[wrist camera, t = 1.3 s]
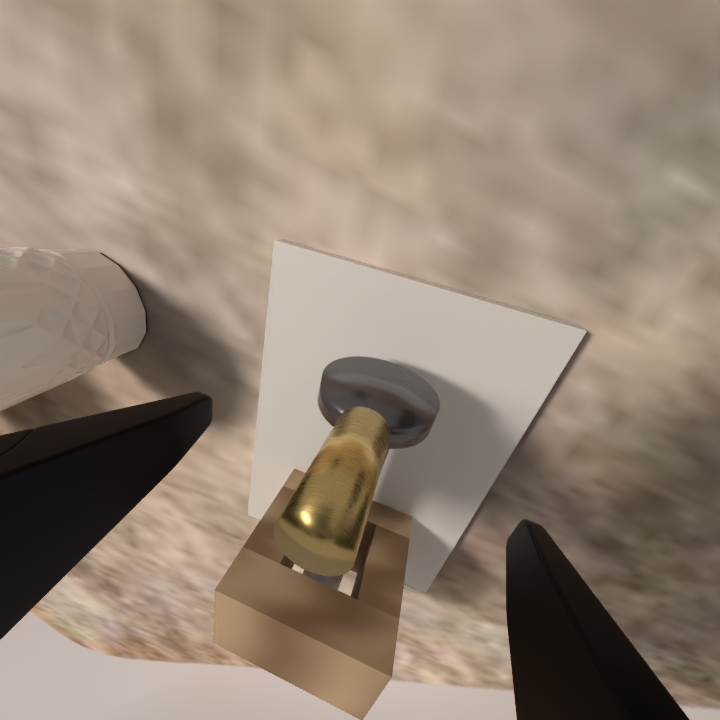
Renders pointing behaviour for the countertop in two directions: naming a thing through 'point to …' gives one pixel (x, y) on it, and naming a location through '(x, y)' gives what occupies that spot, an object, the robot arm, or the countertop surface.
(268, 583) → the block
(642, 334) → the countertop surface
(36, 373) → the white cup
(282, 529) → the hook rod
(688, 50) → the countertop surface
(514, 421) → the mounting board
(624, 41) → the countertop surface
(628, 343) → the countertop surface
